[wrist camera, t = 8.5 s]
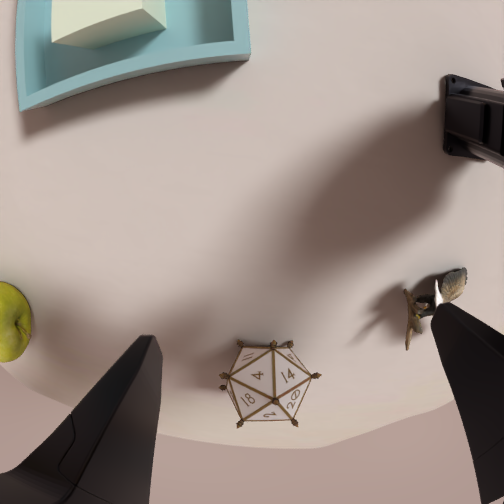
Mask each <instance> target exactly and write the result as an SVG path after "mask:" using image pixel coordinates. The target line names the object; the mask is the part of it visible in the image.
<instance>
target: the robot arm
mask: <svg viewBox="0 0 504 504" xmlns="http://www.w3.org/2000/svg"><path fill="white" fill-rule="evenodd" d="M451 78H452V80H453V82H451ZM501 83H502V87H504V78H502V79H501ZM449 147H450V150H449ZM443 150H444V152H445V153H446V154H448V155H452V156H461V157H469V158H476V159H483V160H488V161H490V162H492V163H494V164H496V165H498V166H500V167H502V168H504V91H500V90H496V89H493V88H491V87H488V86H486V85H483V84H480V83H477V82H475V81H472V80H469V79H466V78H463V77H460V76H457V75H453V74H448V75H447V76H446V112H445V132H444V145H443ZM431 330H432V333H433V336H434V339H435V342H436V345H437V349H438V352H439V355H440V359H441V362H442V365H443V368H444V371H445V373H446V376H447V379H448V381H449V384H450V387H451V389H452V392H453V395H454V398H455V400H456V404H457V406H458V410H459V413H460V416H461V419H462V422H463V426H464V429H465V432H466V436H467V439H468V443H469V447H470V451H471V455H472V459H473V464H474V468H475V472H476V477H477V482H478V487H479V493H480V499H481V504H489V503H491V502H493V501H495V500H497V499H499V498H501V497H503V496H504V335H503V334H501V333H499V332H498V331H496V330H495V329H493V328H491V327H490V326H488V325H487V324H485V323H483V322H482V321H480V320H479V319H477V318H475V317H474V316H472V315H470V314H469V313H467V312H465V311H464V310H462V309H460V308H459V307H457V306H455V305H454V304H452V303H450V302H444V303H440V304H439V305H438V306H437V308H436V310H435V313H434V315H433V318H432V320H431ZM162 362H163V357H162V352H161V350H160V347H159V345H158V342H157V340H156V338H155V336H154V335H140V336H139V337H138V338H137V339H136V340H135V341H134V343H133V344H132V345H131V346H130V347H129V348H128V349H127V350H126V351H125V352H124V353H123V355H122V356H121V357H120V358H119V359H118V360H117V361H116V362H115V363H114V364H113V366H112V367H111V368H110V369H109V370H108V371H107V372H106V373H105V374H104V376H103V377H102V378H101V379H100V380H99V381H98V382H97V383H96V385H95V386H94V387H93V388H92V389H91V390H90V391H89V392H88V394H87V395H86V396H85V397H84V398H83V399H82V400H81V401H80V403H79V404H78V405H77V406H76V407H75V408H74V409H73V411H72V412H71V414H69V415H68V416H67V417H66V419H65V420H64V421H63V422H62V423H61V424H60V425H59V426H58V427H57V428H56V430H55V431H54V432H53V433H52V434H51V435H50V436H49V437H48V438H47V439H46V440H45V441H44V442H43V443H42V444H41V445H40V446H39V447H37V448H36V449H35V450H34V451H33V452H32V453H31V454H30V455H29V456H28V457H27V458H26V459H25V460H24V461H22V463H21V464H19V465H18V466H17V467H15V468H14V469H12V470H10V471H8V472H5V473H1V474H0V504H149V496H150V485H151V475H152V465H153V457H154V448H155V440H156V433H157V426H158V419H159V412H160V404H161V382H162ZM503 504H504V502H503Z"/></svg>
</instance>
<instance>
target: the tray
mask: <svg viewBox="0 0 504 504" xmlns="http://www.w3.org/2000/svg"><path fill="white" fill-rule="evenodd" d="M165 12H166V26H167V29H163V30H158V31H154V32H150V33H146V34H142V35H138V36H135V37H131V38H128V39H124V40H121V41H118V42H114V43H111V44H108V45H105V46H102V47H99V48H97V49H94V50H92V49H87V48H82V47H77V46H71V45H65V44H59V43H52V37H51V13H52V0H18V4H17V16H16V39H15V55H16V79H17V92H18V102H19V110H20V112H22V111H26V110H31V109H35V108H40V107H45V106H47V105H50V104H52V103H55V102H57V101H60V100H62V99H65V98H68V97H71V96H73V95H76V94H79V93H82V92H85V91H88V90H91V89H94V88H97V87H101V86H104V85H107V84H111V83H114V82H118V81H122V80H126V79H129V78H133V77H138V76H142V75H146V74H151V73H156V72H161V71H166V70H171V69H177V68H183V67H189V66H196V65H204V64H212V63H221V62H232V61H246V60H249V58H250V55H251V46H250V33H249V20H248V8H247V0H165Z"/></svg>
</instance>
